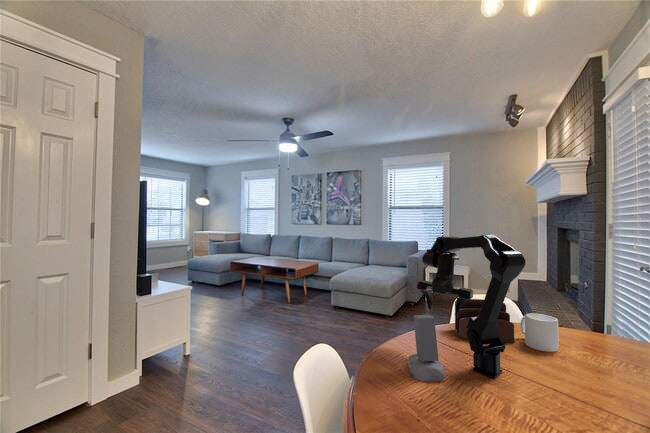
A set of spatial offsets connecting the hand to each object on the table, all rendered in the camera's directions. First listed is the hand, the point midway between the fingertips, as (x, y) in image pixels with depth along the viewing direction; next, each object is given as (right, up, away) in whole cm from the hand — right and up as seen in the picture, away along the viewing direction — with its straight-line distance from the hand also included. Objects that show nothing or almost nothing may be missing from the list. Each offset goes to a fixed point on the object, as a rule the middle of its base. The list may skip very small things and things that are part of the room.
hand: (442, 312), depth 107 cm
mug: (+38, -14, +3) cm, 41 cm away
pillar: (-12, -9, -17) cm, 22 cm away
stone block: (-13, -13, -17) cm, 25 cm away
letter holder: (+22, -14, +12) cm, 28 cm away
